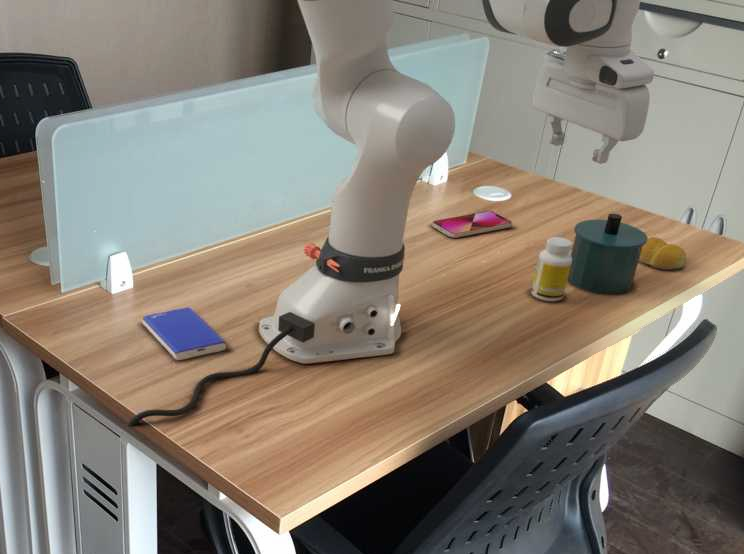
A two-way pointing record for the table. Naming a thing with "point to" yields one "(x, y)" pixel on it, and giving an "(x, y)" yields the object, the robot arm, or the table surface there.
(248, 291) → the table surface
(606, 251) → the pot
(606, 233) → the pot lid
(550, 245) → the supplement bottle
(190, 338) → the hard drive
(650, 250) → the bread roll
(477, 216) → the smartphone
